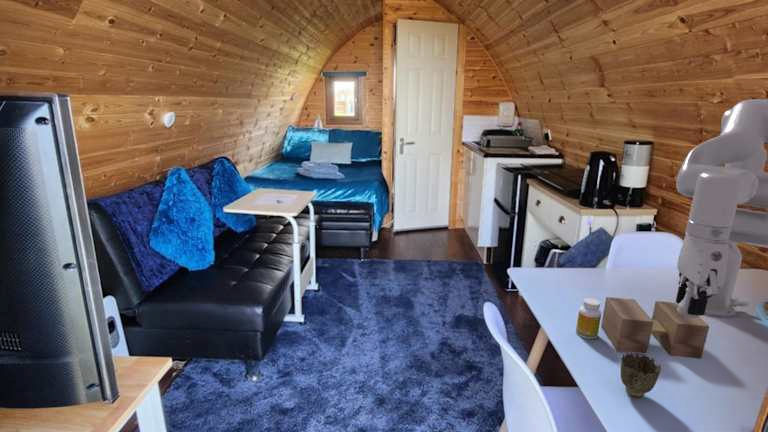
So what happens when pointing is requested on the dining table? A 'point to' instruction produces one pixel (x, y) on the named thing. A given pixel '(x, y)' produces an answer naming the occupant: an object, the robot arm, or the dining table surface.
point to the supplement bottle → (589, 319)
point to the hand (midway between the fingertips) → (689, 307)
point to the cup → (638, 374)
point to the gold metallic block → (658, 328)
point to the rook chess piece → (687, 301)
